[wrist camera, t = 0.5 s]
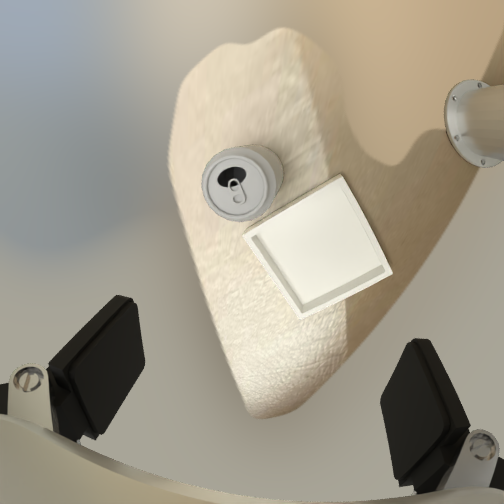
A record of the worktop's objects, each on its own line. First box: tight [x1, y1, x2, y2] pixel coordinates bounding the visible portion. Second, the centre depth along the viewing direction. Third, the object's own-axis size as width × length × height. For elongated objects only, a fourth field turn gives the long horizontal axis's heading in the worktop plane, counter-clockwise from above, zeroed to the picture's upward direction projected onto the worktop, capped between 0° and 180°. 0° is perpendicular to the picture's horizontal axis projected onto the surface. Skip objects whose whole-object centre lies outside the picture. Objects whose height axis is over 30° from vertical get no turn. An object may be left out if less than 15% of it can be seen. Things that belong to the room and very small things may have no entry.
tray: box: [242, 174, 393, 320], centre depth 39 cm, size 15×15×3 cm
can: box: [202, 145, 284, 222], centre depth 32 cm, size 8×8×12 cm
